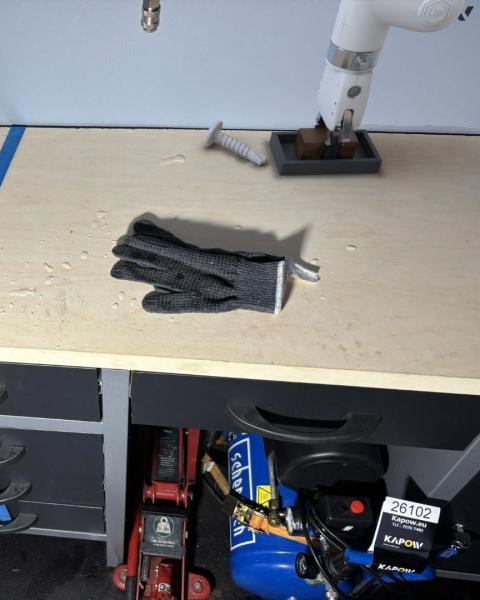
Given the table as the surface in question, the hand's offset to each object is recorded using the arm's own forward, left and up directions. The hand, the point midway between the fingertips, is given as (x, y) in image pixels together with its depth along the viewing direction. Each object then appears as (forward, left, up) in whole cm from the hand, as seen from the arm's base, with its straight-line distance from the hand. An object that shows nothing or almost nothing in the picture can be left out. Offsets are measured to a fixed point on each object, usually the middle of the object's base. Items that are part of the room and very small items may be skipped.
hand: (323, 152), depth 106 cm
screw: (+15, -2, -1) cm, 15 cm away
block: (0, 0, 0) cm, 0 cm away
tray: (0, 0, -1) cm, 1 cm away
